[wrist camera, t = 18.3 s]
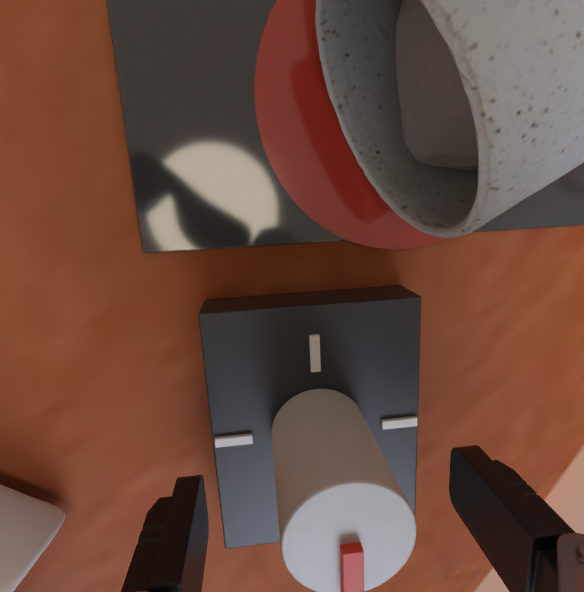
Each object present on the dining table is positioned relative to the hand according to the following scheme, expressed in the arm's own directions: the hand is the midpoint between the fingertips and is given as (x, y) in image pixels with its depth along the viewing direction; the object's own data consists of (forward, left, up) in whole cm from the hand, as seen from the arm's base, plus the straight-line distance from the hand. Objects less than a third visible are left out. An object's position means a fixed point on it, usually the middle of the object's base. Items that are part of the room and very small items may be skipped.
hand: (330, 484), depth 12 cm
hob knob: (0, 0, -3) cm, 3 cm away
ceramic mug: (-14, +4, -5) cm, 15 cm away
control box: (0, 0, -5) cm, 5 cm away
